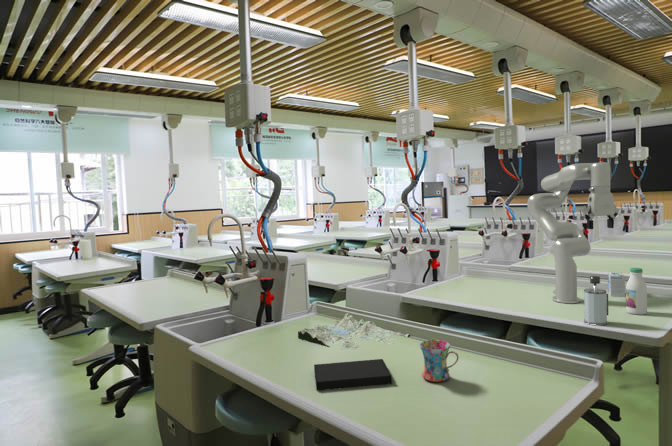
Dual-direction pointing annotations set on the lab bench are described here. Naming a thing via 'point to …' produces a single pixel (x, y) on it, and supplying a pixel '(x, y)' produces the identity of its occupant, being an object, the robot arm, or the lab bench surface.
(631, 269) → the milk bottle
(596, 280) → the plunger
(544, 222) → the robot arm
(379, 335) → the topographic map model
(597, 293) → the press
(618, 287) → the light bulb box
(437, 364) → the mug
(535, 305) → the lab bench surface
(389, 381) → the external hard drive
